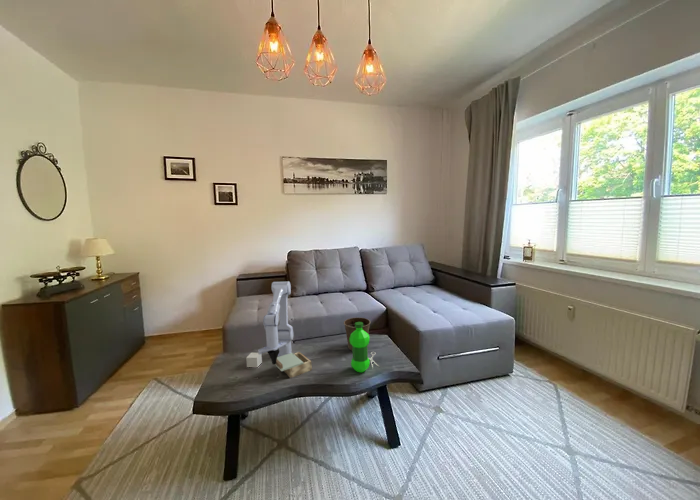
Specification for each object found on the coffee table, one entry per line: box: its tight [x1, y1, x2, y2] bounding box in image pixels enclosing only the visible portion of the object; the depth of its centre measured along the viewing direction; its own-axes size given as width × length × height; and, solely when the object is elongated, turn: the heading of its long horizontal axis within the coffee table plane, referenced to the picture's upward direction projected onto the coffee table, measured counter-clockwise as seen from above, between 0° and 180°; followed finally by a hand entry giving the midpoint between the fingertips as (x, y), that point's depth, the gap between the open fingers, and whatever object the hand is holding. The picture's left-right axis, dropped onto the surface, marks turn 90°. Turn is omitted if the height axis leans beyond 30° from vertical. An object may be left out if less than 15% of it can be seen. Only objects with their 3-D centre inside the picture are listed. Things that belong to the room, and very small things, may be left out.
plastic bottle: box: [349, 322, 371, 373], centre depth 149 cm, size 10×10×25 cm
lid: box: [274, 352, 304, 372], centre depth 150 cm, size 12×14×3 cm
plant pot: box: [343, 316, 371, 351], centre depth 175 cm, size 16×16×16 cm
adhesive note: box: [245, 352, 263, 368], centre depth 158 cm, size 6×6×6 cm
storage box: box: [283, 351, 313, 379], centre depth 153 cm, size 12×14×5 cm
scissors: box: [368, 351, 379, 369], centre depth 160 cm, size 11×1×20 cm
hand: (273, 363), depth 146 cm, fingers closed
